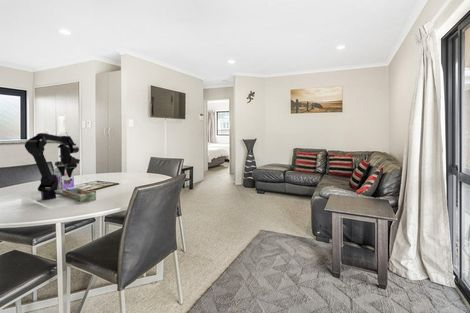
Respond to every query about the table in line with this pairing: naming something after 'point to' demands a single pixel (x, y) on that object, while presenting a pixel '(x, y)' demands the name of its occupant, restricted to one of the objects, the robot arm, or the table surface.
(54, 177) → the robot arm
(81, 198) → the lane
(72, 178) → the candy box
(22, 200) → the table surface
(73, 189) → the block
